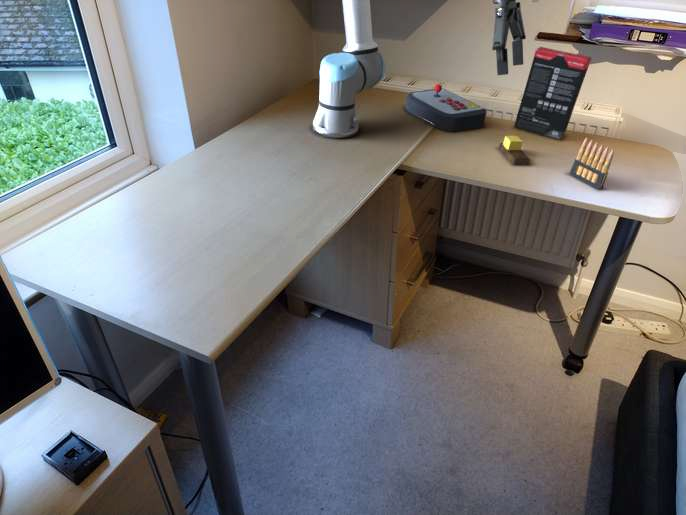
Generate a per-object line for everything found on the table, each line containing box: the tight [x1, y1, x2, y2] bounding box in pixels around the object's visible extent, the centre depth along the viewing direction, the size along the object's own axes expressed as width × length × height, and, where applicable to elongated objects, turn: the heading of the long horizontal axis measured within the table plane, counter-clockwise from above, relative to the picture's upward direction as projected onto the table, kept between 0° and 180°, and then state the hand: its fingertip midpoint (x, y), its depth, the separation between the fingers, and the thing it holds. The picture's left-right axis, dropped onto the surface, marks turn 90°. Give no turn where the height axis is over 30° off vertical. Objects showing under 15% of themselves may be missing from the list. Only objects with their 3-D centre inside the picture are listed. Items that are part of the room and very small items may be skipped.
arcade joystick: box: [404, 83, 488, 132], centre depth 183 cm, size 28×19×10 cm
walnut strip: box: [498, 142, 531, 166], centre depth 161 cm, size 12×5×2 cm, turn 8°
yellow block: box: [502, 135, 524, 150], centre depth 161 cm, size 4×4×3 cm
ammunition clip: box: [568, 137, 615, 191], centre depth 147 cm, size 11×2×12 cm, turn 30°
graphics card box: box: [513, 46, 592, 141], centre depth 172 cm, size 17×7×27 cm, turn 58°
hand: (510, 69), depth 141 cm, fingers open, 13 cm apart
